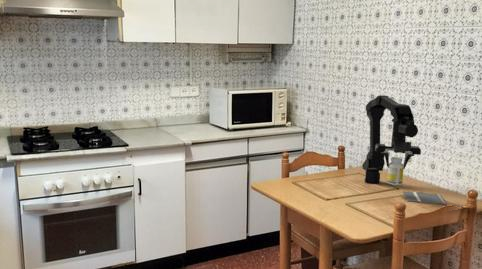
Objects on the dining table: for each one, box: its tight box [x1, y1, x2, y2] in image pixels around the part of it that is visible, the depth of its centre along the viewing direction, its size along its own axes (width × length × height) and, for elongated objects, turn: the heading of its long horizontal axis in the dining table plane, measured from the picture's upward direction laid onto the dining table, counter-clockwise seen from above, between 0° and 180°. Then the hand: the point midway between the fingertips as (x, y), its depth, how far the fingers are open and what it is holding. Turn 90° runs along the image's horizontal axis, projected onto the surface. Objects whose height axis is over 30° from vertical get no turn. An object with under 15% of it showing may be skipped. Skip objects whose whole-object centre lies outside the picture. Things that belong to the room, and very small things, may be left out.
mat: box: [402, 190, 447, 206], centre depth 207 cm, size 16×14×1 cm
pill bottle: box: [386, 156, 405, 186], centre depth 208 cm, size 6×6×12 cm
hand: (395, 168), depth 207 cm, fingers closed on pill bottle, 6 cm apart
